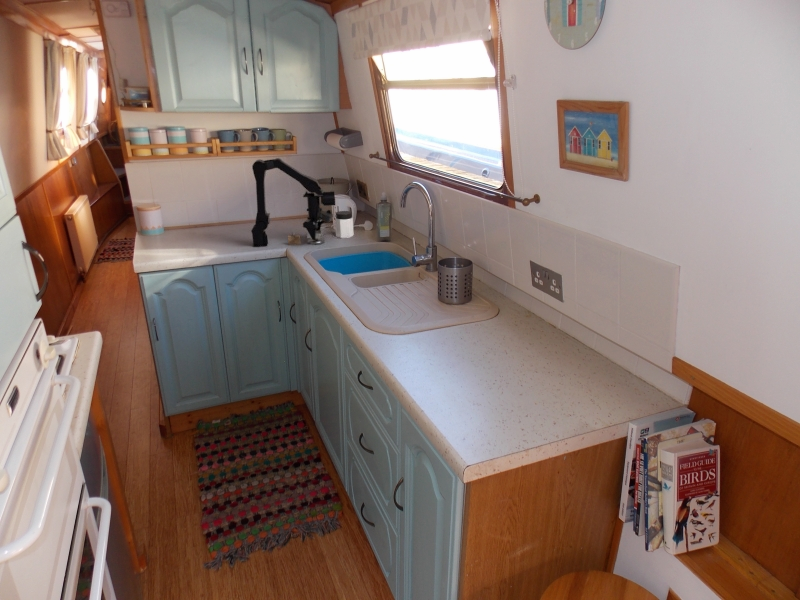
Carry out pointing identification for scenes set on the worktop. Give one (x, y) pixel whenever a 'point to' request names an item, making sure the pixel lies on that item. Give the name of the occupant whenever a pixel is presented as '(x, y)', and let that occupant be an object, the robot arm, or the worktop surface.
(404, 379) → the worktop surface
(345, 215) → the jar
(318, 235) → the square frame block
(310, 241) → the hub
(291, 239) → the stand
